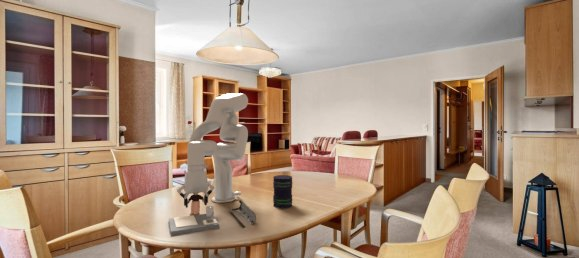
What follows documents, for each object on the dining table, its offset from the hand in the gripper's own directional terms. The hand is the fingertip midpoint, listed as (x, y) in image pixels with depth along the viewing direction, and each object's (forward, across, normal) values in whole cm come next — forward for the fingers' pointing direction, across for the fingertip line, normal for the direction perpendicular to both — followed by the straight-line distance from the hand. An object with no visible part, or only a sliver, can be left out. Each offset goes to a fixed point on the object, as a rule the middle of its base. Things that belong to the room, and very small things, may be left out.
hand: (196, 205), depth 131 cm
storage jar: (+4, -42, +5) cm, 43 cm away
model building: (+5, -18, +13) cm, 23 cm away
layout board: (+4, +3, +14) cm, 15 cm away
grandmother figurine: (+4, 0, 0) cm, 4 cm away
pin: (+2, -3, +18) cm, 18 cm away
